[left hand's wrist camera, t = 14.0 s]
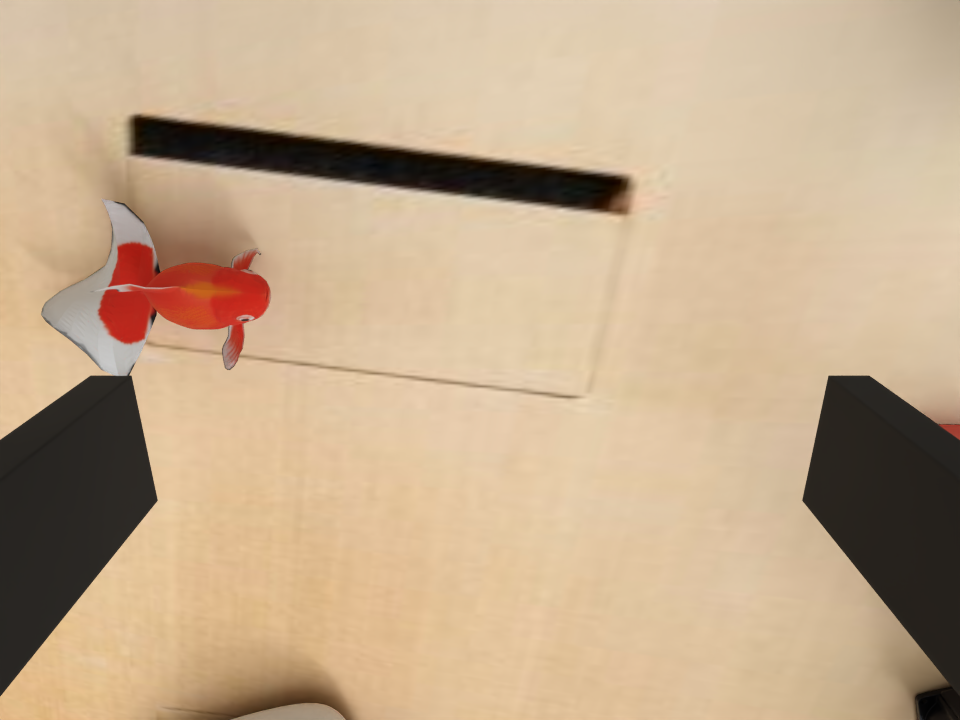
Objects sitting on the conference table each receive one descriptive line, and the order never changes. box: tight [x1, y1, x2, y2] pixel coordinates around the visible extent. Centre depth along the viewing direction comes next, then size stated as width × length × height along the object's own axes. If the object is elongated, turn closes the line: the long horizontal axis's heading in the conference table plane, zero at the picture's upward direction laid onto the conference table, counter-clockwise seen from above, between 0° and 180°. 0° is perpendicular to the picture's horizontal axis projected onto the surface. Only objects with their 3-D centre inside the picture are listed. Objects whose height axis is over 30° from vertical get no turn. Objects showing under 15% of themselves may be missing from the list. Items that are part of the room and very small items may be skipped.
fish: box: [41, 199, 271, 376], centre depth 41 cm, size 11×16×10 cm
